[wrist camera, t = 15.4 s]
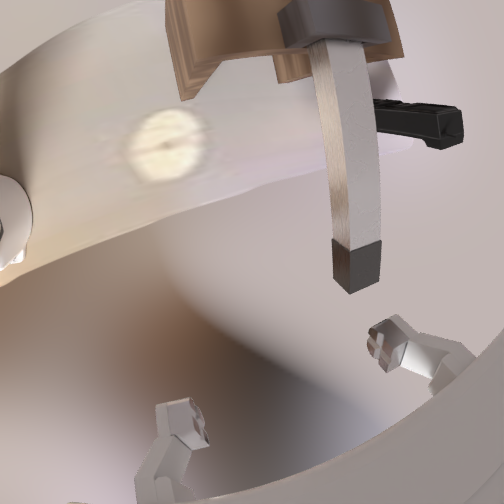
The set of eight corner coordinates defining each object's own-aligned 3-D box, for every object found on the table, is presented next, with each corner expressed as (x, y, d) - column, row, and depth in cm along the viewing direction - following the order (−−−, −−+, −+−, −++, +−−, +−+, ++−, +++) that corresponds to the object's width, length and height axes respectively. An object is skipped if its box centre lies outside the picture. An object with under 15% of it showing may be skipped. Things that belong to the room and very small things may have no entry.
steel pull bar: (333, 278, 24) (349, 294, 21) (290, -7, 12) (307, -21, 10) (361, 267, 24) (378, 281, 22) (327, -3, 13) (347, -14, 10)
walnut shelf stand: (181, 101, 36) (206, 38, 10) (165, 26, 29) (175, -104, 3) (289, 82, 39) (440, 54, 13) (273, 13, 32) (393, -69, 6)
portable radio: (367, 97, 43) (476, 102, 22) (373, 125, 46) (480, 144, 25) (336, 103, 43) (450, 105, 21) (344, 133, 46) (455, 154, 24)
